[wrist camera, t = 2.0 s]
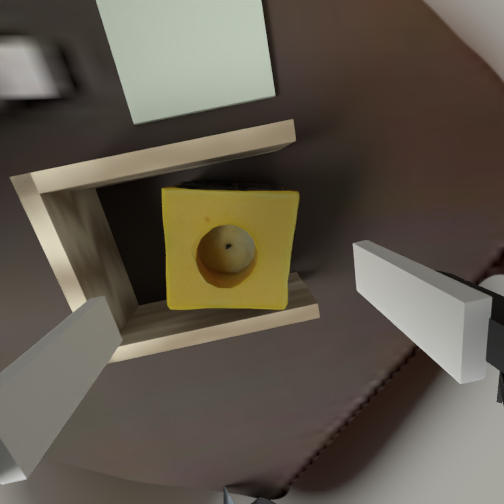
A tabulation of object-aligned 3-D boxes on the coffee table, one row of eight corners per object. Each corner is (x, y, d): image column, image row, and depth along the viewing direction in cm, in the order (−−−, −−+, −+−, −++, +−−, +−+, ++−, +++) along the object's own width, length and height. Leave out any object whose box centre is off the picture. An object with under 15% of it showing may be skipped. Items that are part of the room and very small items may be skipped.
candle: (279, 183, 28) (304, 187, 18) (273, 269, 31) (291, 312, 21) (184, 179, 27) (158, 180, 17) (187, 268, 30) (166, 312, 20)
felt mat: (79, -60, 21) (75, -66, 20) (246, -91, 21) (246, -99, 20) (136, 125, 25) (133, 123, 24) (274, 97, 25) (275, 95, 25)
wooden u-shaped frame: (75, 176, 26) (9, 177, 18) (275, 135, 26) (293, 119, 19) (131, 318, 31) (97, 365, 23) (298, 282, 31) (319, 317, 24)
